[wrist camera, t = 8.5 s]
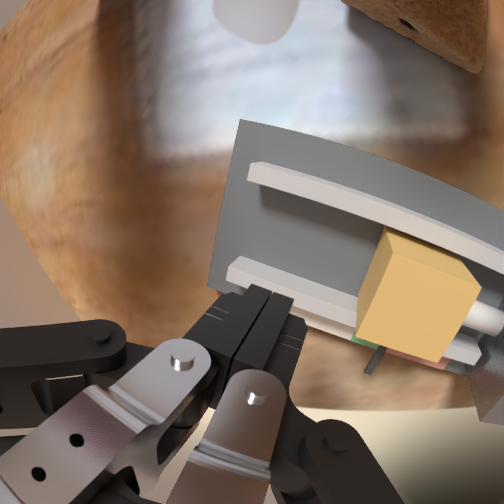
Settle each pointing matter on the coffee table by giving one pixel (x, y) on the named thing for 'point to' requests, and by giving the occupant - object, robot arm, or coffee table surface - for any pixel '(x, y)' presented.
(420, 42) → the brown clay boot
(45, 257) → the coffee table surface
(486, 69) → the coffee table surface
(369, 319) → the gauge carriage
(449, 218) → the base
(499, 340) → the grey end plate
